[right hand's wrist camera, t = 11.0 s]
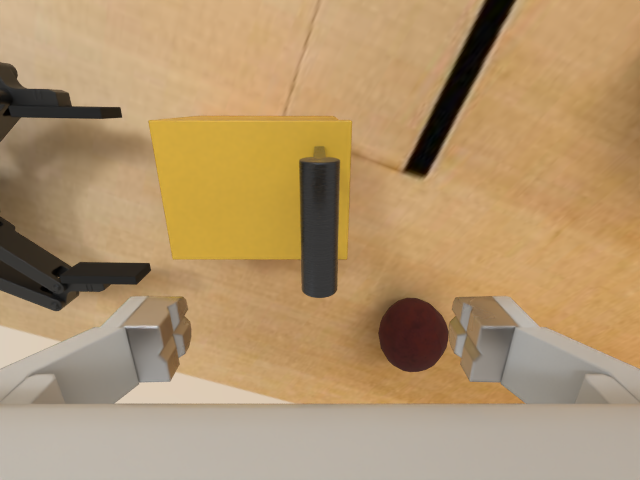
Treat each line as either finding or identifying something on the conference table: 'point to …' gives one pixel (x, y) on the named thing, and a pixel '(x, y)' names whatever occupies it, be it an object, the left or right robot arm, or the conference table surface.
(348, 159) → the yellow panel
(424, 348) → the potato
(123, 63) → the conference table surface
